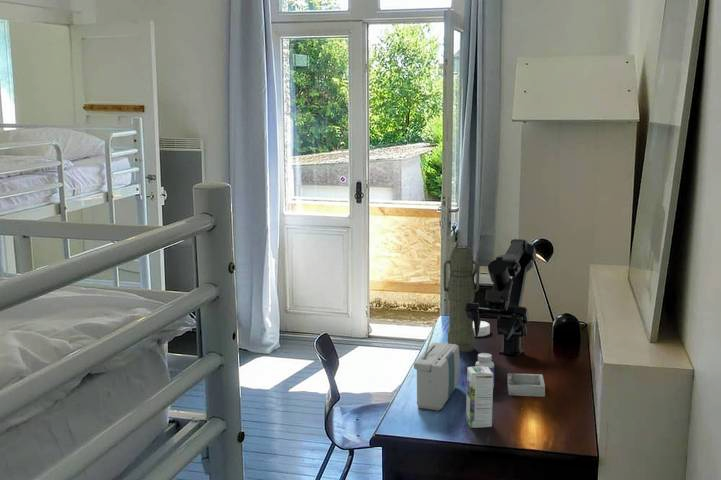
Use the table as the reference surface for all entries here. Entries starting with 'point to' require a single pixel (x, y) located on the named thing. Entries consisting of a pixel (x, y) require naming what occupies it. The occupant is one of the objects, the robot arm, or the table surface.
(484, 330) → the white round tub
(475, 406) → the syrup box
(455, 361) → the stereo radio cassette player
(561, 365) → the table surface
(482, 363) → the pill bottle
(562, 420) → the table surface
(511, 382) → the housing
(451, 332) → the thermos
